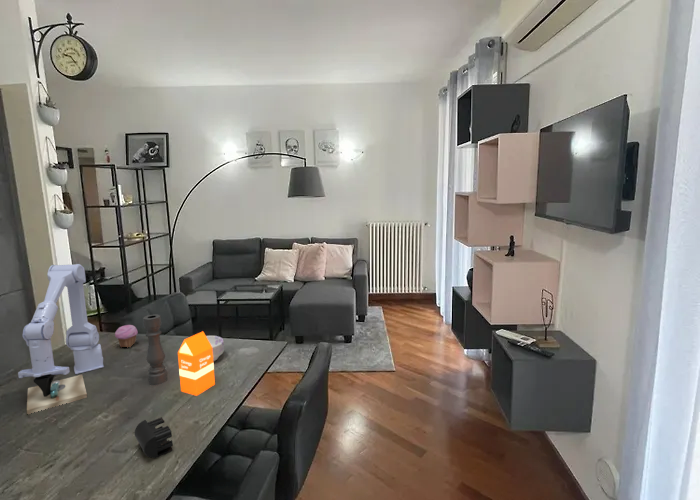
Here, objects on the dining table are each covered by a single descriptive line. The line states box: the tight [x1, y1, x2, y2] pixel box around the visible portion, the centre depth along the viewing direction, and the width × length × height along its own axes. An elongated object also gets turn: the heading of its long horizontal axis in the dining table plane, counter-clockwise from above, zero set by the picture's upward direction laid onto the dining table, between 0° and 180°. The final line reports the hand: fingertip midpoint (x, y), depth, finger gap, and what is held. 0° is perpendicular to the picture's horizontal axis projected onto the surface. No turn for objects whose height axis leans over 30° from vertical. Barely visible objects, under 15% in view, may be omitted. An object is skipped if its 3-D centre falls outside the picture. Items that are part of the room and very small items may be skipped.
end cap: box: [134, 416, 174, 459], centre depth 107 cm, size 10×7×7 cm
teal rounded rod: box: [50, 379, 61, 398], centre depth 134 cm, size 9×2×2 cm, turn 32°
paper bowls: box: [206, 335, 225, 362], centre depth 162 cm, size 15×15×8 cm
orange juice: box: [177, 330, 216, 397], centre depth 138 cm, size 8×9×20 cm
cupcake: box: [114, 324, 138, 349], centre depth 176 cm, size 9×9×10 cm
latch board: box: [26, 374, 88, 415], centre depth 136 cm, size 16×18×2 cm
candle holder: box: [142, 313, 168, 386], centre depth 143 cm, size 6×6×25 cm
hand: (47, 395), depth 131 cm, fingers closed, pressing on teal rounded rod
